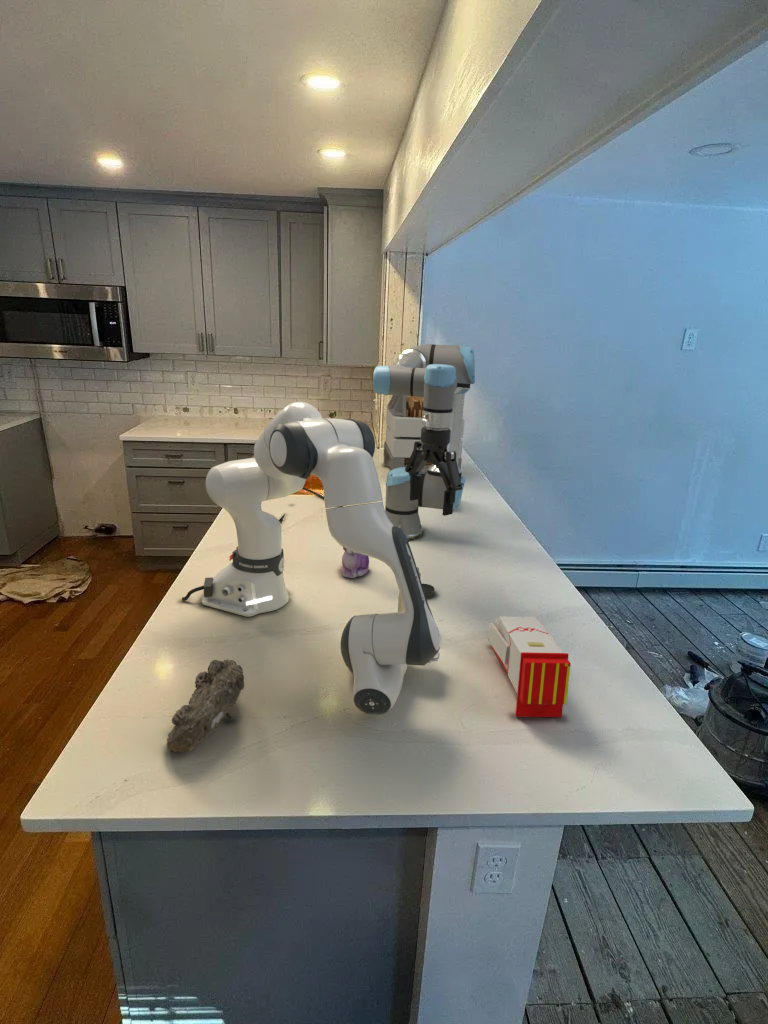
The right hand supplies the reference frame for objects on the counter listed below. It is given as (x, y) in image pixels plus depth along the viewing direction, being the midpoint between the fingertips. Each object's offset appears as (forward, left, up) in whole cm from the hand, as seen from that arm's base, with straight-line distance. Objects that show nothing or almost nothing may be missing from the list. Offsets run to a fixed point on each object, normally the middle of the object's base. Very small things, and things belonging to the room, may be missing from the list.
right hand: (430, 506), depth 150 cm
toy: (+40, -10, -26) cm, 49 cm away
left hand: (+15, -24, -19) cm, 34 cm away
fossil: (+12, -68, -26) cm, 74 cm away
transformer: (-89, +85, -26) cm, 126 cm away
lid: (0, 0, -24) cm, 24 cm away
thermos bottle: (+8, -14, -26) cm, 30 cm away
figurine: (-22, -8, -26) cm, 34 cm away
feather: (-74, -1, -26) cm, 78 cm away
